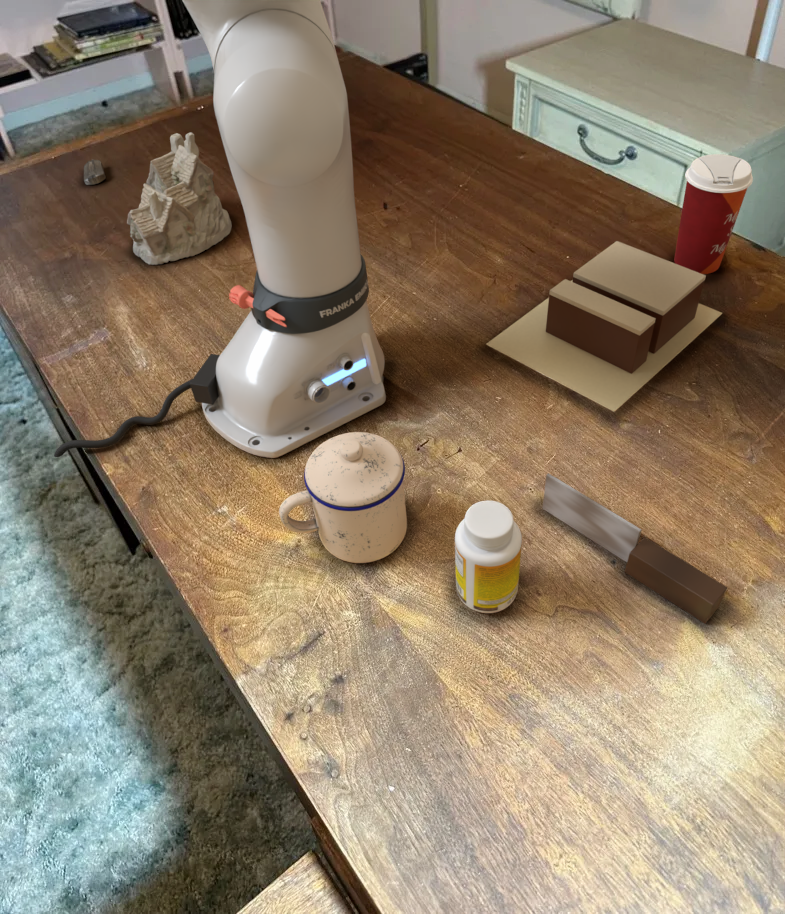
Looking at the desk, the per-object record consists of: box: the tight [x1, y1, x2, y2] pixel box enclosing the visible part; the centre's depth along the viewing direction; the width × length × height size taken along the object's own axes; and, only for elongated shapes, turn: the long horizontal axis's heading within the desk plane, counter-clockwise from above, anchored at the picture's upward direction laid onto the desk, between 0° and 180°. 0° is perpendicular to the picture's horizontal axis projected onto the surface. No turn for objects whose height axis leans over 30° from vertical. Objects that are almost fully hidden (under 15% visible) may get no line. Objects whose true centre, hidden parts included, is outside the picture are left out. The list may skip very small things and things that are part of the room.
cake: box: [571, 240, 707, 354], centre depth 91 cm, size 9×12×6 cm
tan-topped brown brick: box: [546, 278, 656, 374], centre depth 88 cm, size 3×12×6 cm, turn 45°
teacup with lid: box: [278, 431, 408, 564], centre depth 70 cm, size 12×9×12 cm
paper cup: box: [673, 153, 754, 275], centre depth 96 cm, size 8×8×14 cm
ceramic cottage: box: [126, 131, 232, 266], centre depth 111 cm, size 16×16×15 cm
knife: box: [542, 472, 728, 624], centre depth 69 cm, size 18×2×5 cm, turn 45°
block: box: [83, 159, 107, 186], centre depth 130 cm, size 4×6×2 cm, turn 20°
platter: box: [485, 279, 723, 413], centre depth 92 cm, size 23×18×1 cm
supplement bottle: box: [454, 499, 523, 614], centre depth 65 cm, size 6×6×10 cm
